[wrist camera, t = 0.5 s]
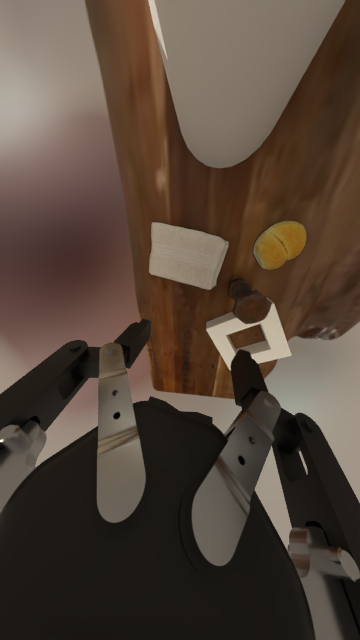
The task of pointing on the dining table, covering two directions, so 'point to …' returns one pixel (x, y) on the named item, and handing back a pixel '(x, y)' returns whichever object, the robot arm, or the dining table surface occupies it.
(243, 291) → the bolt
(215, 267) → the washcloth
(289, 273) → the dining table surface
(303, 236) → the bread roll
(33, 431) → the robot arm
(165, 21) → the cylinder
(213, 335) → the collar block
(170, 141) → the dining table surface
